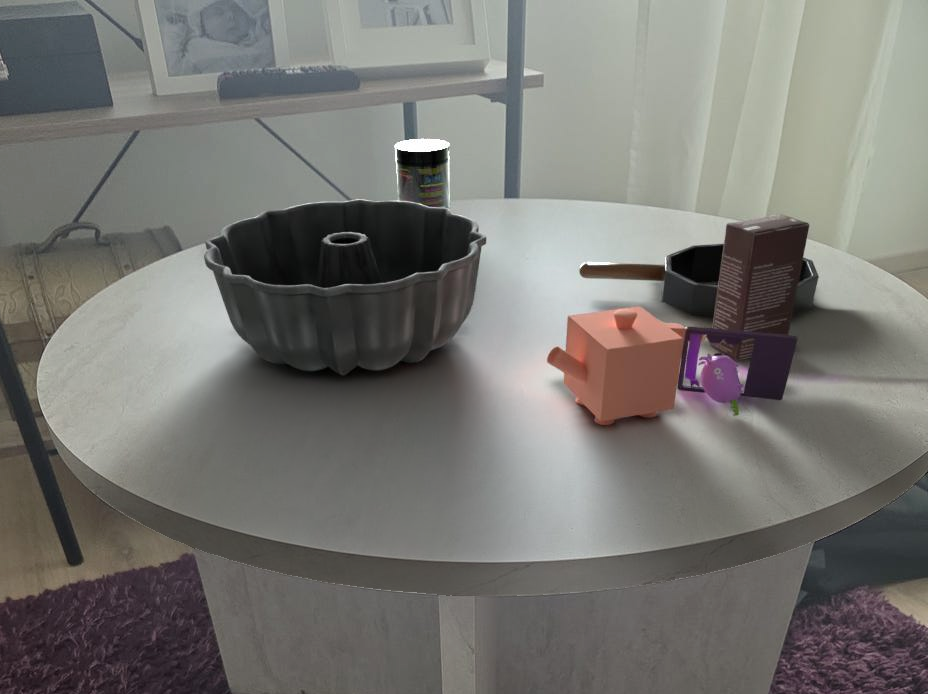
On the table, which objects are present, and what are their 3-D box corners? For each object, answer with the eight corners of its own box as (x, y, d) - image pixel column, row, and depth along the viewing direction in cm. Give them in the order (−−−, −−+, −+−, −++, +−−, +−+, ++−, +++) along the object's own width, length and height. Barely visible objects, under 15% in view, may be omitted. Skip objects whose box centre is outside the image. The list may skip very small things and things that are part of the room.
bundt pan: (412, 418, 78) (406, 301, 72) (166, 370, 87) (141, 262, 81) (523, 314, 97) (526, 213, 90) (310, 283, 105) (300, 190, 99)
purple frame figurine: (799, 329, 74) (686, 320, 76) (794, 373, 72) (678, 363, 74) (783, 391, 80) (678, 381, 82) (778, 434, 77) (670, 422, 80)
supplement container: (461, 232, 120) (460, 144, 113) (424, 244, 116) (421, 153, 109) (425, 223, 123) (422, 136, 117) (388, 234, 120) (383, 145, 113)
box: (754, 342, 89) (780, 211, 82) (784, 359, 86) (814, 224, 79) (703, 353, 88) (724, 220, 80) (732, 370, 84) (757, 233, 77)
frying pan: (798, 282, 102) (806, 244, 100) (816, 335, 90) (826, 294, 88) (581, 274, 106) (584, 238, 103) (572, 324, 94) (574, 285, 91)
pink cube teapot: (528, 399, 81) (532, 306, 75) (651, 380, 83) (663, 288, 78) (563, 438, 75) (569, 340, 70) (694, 416, 77) (709, 320, 72)
